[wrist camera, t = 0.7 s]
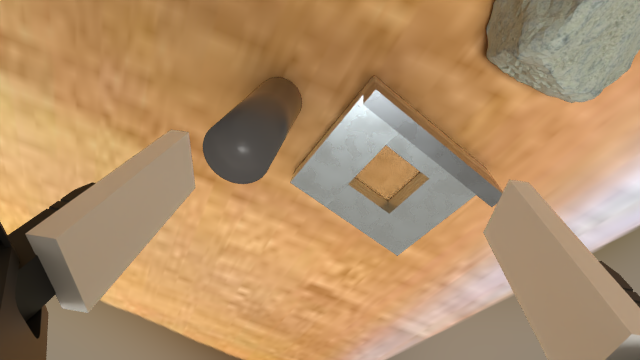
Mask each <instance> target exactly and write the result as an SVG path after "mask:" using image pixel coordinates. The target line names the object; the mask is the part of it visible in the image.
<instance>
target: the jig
mask: <svg viewBox="0 0 640 360" xmlns="http://www.w3.org/2000/svg"><path fill="white" fill-rule="evenodd" d="M385 145H387V146H388V147H389V148H391V149H392V150H393V151H394V152H396V153H397V154H398V155H400V156H401V157H402V158H403V159H405V160H406V161H407V162H409V163H410V164H411V165H412V166H414V167H415V168H416V169H418V170H419V171H420V173H419V174H418V175H417V176H415V177H414V178H413V179H412V180H411V181H410V182H409V183H408V184H407V185H405V186H404V187H403V188H402V189H401V190H400V191H399V192H398V193H397V194H396V195H394V196H393V197H392V198H391V199H390V200H389V201H387V200H385V199H384V198H383V197H381V196H380V195H378V194H377V193H376V192H374V191H373V190H372V189H370V188H369V187H367V186H366V185H365V184H363V183H362V182H361V181H359V180H358V179H356V178H355V176H356V175H357V174H358V173H359V172H360V171H361V170H362V169H363V168H364V167H365V166H366V165H367V164H368V163H369V162H370V161H371V160H372V159H373V158H374V157H375V156H376V155H377V154H378V153H379V152H380V151H381V150H382V148H383V147H384V146H385ZM290 183H292V184H293V185H295V186H296V187H298V188H299V189H300V190H302V191H303V192H305V193H306V194H308V195H309V196H311V197H312V198H314V199H315V200H317V201H318V202H319V203H321V204H322V205H324V206H325V207H327V208H328V209H330V210H331V211H333V212H334V213H336V214H337V215H339V216H340V217H341V218H343V219H344V220H346V221H347V222H349V223H350V224H352V225H353V226H355V227H356V228H358V229H359V230H360V231H362V232H363V233H365V234H366V235H368V236H369V237H371V238H372V239H374V240H375V241H377V242H378V243H379V244H381V245H382V246H384V247H385V248H387V249H388V250H390V251H391V252H393V253H394V254H396V255H397V256H398V255H399V254H400V253H402V252H403V251H404V250H405V249H407V248H408V247H409V246H411V245H412V244H413V243H414V242H416V241H417V240H418V239H420V238H421V237H422V236H424V235H425V234H426V233H427V232H429V231H430V230H431V229H433V228H434V227H435V226H436V225H438V224H439V223H440V222H442V221H443V220H444V219H446V218H447V217H448V216H449V215H451V214H452V213H453V212H455V211H456V210H457V209H458V208H460V207H461V206H462V205H464V204H465V203H466V202H467V201H469V200H470V199H471V198H473V197H474V196H475V195H477V196H478V197H480V198H481V199H482V200H483V201H485V202H486V203H487V204H488V205H490V206H491V207H493V206H494V205H495V204H497V203H498V201H499V199H500V197H501V195H502V193H503V191H502V190H501V189H500V187H499V186H498V184H497V183H496V181H495V180H494V179H493V177H492V176H491V174H490V173H489V172H488V170H487V169H486V168H485V167H484V166H483V165H481V164H480V163H479V162H478V161H477V160H475V159H474V158H473V157H472V156H471V155H469V154H468V153H467V152H466V151H465V150H463V149H462V148H461V147H460V146H459V145H457V144H456V143H455V142H454V141H453V140H451V139H450V138H449V137H448V136H447V135H445V134H444V133H443V132H442V131H441V130H439V129H438V128H437V127H436V126H435V125H433V124H432V123H431V122H430V121H429V120H427V119H426V118H425V117H424V116H423V115H421V114H420V113H419V112H418V111H417V110H415V109H414V108H413V107H412V106H411V105H409V104H408V103H407V102H406V101H405V100H403V99H402V98H401V97H400V96H399V95H397V94H396V93H395V92H394V91H393V90H391V89H390V88H389V87H388V86H387V85H385V84H384V83H383V82H382V81H381V80H379V79H378V78H377V77H376V76H375V75H374V76H373V77H372V78H371V79H370V81H369V82H368V83H367V84H366V85H365V87H364V88H363V89H362V90H361V91H360V93H359V94H358V95H357V96H356V98H355V99H354V100H353V101H352V102H351V104H350V105H349V106H348V107H347V108H346V110H345V111H344V112H343V113H342V115H341V116H340V117H339V118H338V119H337V121H336V122H335V123H334V124H333V125H332V127H331V128H330V129H329V130H328V132H327V133H326V134H325V135H324V136H323V138H322V139H321V140H320V141H319V142H318V144H317V145H316V146H315V147H314V149H313V150H312V151H311V152H310V153H309V155H308V156H307V157H306V158H305V159H304V161H303V162H302V163H301V164H300V166H299V167H298V168H297V169H296V170H295V172H294V174H293V177H292V179H291V182H290Z"/></svg>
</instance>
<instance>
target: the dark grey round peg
mask: <svg viewBox="0 0 640 360" xmlns="http://www.w3.org/2000/svg"><path fill="white" fill-rule="evenodd" d="M301 107H302V98H301V94H300V92H299V90H298V88H297V87H296V86H295V85H294V84H293V83H292V82H290V81H289V80H287V79H284V78H280V77H274V78H270V79H268V80H266V81H265V82H264V83H262V84H261V85H260V86H259V87H258V88H257V89H255V90H254V91H253V92H252V93H251V94H250V95H248V96H247V97H246V98H245V99H244V100H243V101H242V102H240V103H239V104H238V105H237V106H236V107H235V108H233V109H232V110H231V111H230V112H229V113H228V114H226V115H225V116H224V117H223V118H222V119H221V120H220V121H218V122H217V123H216V124H215V125H214V126H213V127H211V128H210V129H209V130H208V132H207V133H206V135H205V137H204V141H203V153H204V156H205V159H206V161H207V163H208V165H209V166H210V167H211V169H212V170H213V171H214V172H215V173H216V174H217V175H219V176H220V177H222V178H223V179H225V180H227V181H230V182H233V183H238V184H248V183H253V182H255V181H257V180H259V179H260V178H262V177H263V176H264V175H265V173H266V172H267V170H268V169H269V167H270V165H271V163H272V161H273V159H274V158H275V156H276V154H277V152H278V150H279V149H280V147H281V145H282V143H283V141H284V140H285V138H286V136H287V134H288V132H289V130H290V129H291V127H292V125H293V123H294V121H295V120H296V118H297V116H298V114H299V112H300V110H301Z"/></svg>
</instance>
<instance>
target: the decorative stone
mask: <svg viewBox="0 0 640 360" xmlns="http://www.w3.org/2000/svg"><path fill="white" fill-rule="evenodd" d="M486 30H487V39H488V49H487V53H486V56H487V59H488V60H489V61H490V62H492V63H493V64H495V65H497V66H498V67H499V68H500V69H501V70H502V71H503V72H504V73H507V74H508V75H509V76H512V77H514V78H515V79H516V80H517V81H519V82H522V83H524V84H526V85H529V86H531V87H533V88H534V89H536V90H538V91H540V92H542V93H544V94H546V95H548V96H552V97H557V98H559V99H562V100H564V101H567V102H571V103H573V102H585V101H588V100H591V99H594V98H595V97H596V96H598V95H599V94H600V93H601V92H602V90H603V89H604V88H605V87H607V86H608V85H610V84H611V83H613V82H614V81H616V80H617V79H618V78H619V77H620V76H621V75H622V74H624V73H625V72H626V71H628V69H629V68H630V66H631V64H632V62H633V59H634V57H635V55H636V54H637V53H638V51H639V50H640V0H496V1H495V2H494V5H493V10H492V14H491V18H490V20H489V23H488V26H487V28H486Z"/></svg>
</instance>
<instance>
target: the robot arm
mask: <svg viewBox="0 0 640 360" xmlns="http://www.w3.org/2000/svg"><path fill="white" fill-rule="evenodd" d="M194 189H195V180H194V172H193V163H192V155H191V146H190V138H189V132H184V131H177V130H170V131H168V132H167V133H166V134H164V135H163V136H161V137H160V138H159V139H157V140H156V141H154V142H153V143H152V144H150V145H149V146H147V147H146V148H145V149H143V150H142V151H140V152H139V153H138V154H136V155H135V156H133V157H132V158H131V159H129V160H128V161H126V162H125V163H124V164H122V165H121V166H119V167H118V168H116V169H115V170H114V171H112V172H111V173H109V174H108V175H107V176H105V177H104V178H102V179H101V180H100V181H98V182H97V183H90V184H87V185H85V186H83V187H80V188H78V189H75V190H73V191H72V192H71V193H69V194H68V195H66V196H65V197H63V198H62V199H61V201H57V202H56V203H54V204H53V205H52V206H50V207H49V209H46V210H44V211H43V212H41V213H40V214H38V215H37V216H35V217H34V218H33V219H31V220H30V221H28V222H27V223H25V224H24V225H22V226H21V227H19V228H18V229H16V230H15V231H13V232H12V233H11V234H9V235H7V234H6V232H5V230H4V228H3V226H2V224H1V222H0V360H46V350H47V329H48V311H47V308H46V306H45V304H46V303H47V302H48V301H49V300H50V299H51V298H52V297H53V296H54V295H56V297H57V299H58V301H59V303H60V305H61V307H62V308H64V309H70V310H75V311H81V312H87V313H88V312H89V311H90V310H91V309H92V308H93V307H94V306H95V304H96V303H97V302H98V301H99V300H100V299H101V297H102V296H103V295H104V294H105V293H106V292H107V290H108V289H109V288H110V287H111V286H112V285H113V283H114V282H115V281H116V280H117V279H118V278H119V276H120V275H121V274H122V273H123V272H124V271H125V269H126V268H127V267H128V266H129V265H130V264H131V262H132V261H133V260H134V259H135V258H136V257H137V255H138V254H139V253H140V252H141V251H142V250H143V248H144V247H145V246H146V245H147V244H148V243H149V241H150V240H151V239H152V238H153V237H154V236H155V234H156V233H157V232H158V231H159V230H160V229H161V227H162V226H163V225H164V224H165V223H166V222H167V220H168V219H169V218H170V217H171V216H172V215H173V213H174V212H175V211H176V210H177V209H178V208H179V206H180V205H181V204H182V203H183V202H184V201H185V199H186V198H187V197H188V196H189V195H190V193H191V192H192V191H193V190H194ZM483 233H484V235H485V237H486V239H487V241H488V243H489V245H490V247H491V249H492V251H493V253H494V255H495V257H496V259H497V260H498V262H499V264H500V266H501V268H502V270H503V272H504V274H505V276H506V278H507V280H508V282H509V284H510V286H511V288H512V290H513V292H514V294H515V296H516V298H517V300H518V302H519V304H520V306H521V307H522V309H523V312H524V314H525V316H526V318H527V319H528V321H529V324H530V325H531V327H532V329H533V331H534V333H535V335H536V337H537V339H538V341H539V343H540V345H541V347H542V349H543V351H544V353H545V355H546V357H547V359H548V360H640V296H639V295H638V294H637V293H636V292H633V289H632V288H631V287H630V286H629V284H628V283H627V282H626V281H625V280H624V279H623V278H622V277H621V276H620V275H619V274H618V273H617V272H615V271H614V270H613V269H611V268H610V267H609V266H607V265H606V264H604V263H603V262H602V261H598V260H597V259H596V258H595V257H594V256H593V254H592V253H591V252H590V251H589V250H588V249H587V248H586V247H585V245H584V244H583V243H582V242H581V241H580V240H579V239H578V237H577V236H576V235H575V234H574V233H573V232H572V231H571V230H570V228H569V227H568V226H567V225H566V224H565V223H564V222H563V220H562V219H561V218H560V217H559V216H558V215H557V214H556V213H555V211H554V210H553V209H552V208H551V207H550V206H549V205H548V204H547V202H546V201H545V200H544V199H543V198H542V197H541V196H540V194H539V193H538V192H537V191H536V190H535V189H534V188H533V187H532V185H531V184H530V183H529V182H523V181H516V180H509V181H508V183H507V185H506V187H505V189H504V191H503V193H502V195H501V197H500V199H499V201H498V203H497V205H496V207H495V210H494V212H493V214H492V216H491V218H490V220H489V222H488V224H487V226H486V228H485V230H484V232H483Z"/></svg>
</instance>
